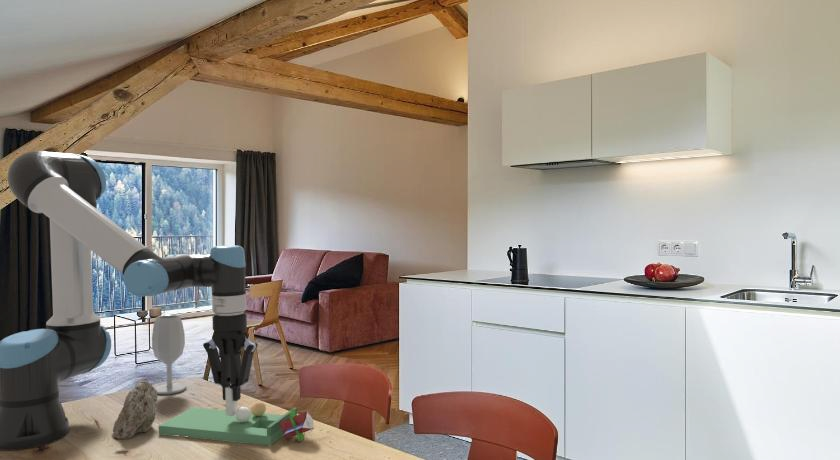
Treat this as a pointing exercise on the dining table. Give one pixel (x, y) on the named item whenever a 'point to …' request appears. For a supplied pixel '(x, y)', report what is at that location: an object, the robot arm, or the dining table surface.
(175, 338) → the wineglass
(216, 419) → the putting mat
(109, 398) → the dining table surface
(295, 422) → the geometric puzzle
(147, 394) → the rock
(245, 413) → the white ball
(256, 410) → the orange ball
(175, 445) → the dining table surface
